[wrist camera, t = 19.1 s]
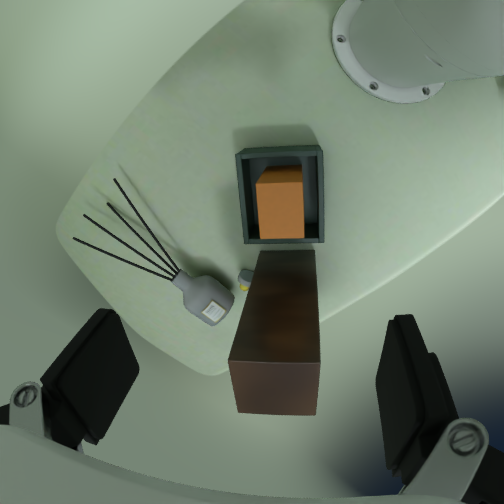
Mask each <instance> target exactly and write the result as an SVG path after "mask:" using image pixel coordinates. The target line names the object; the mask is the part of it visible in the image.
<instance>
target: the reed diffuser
mask: <svg viewBox="0 0 504 504" xmlns="http://www.w3.org/2000/svg"><path fill="white" fill-rule="evenodd" d="M113 180H114V182H115V183H116V185H117V186H118V188H119V189H120V191H121V192H122V194H123V195H124V197H125V198H126V199H127V201H128V202H129V204H130V205H131V207H132V208H133V210H134V211H135V213H136V214H137V216H138V217H139V218H140V220H141V221H142V223H143V224H144V226H145V227H146V228H147V230H148V231H149V233H150V234H151V235H152V237H153V238H154V240H155V241H156V242H157V244H158V245H159V247H160V248H161V249H162V251H163V252H164V253H165V255H166V256H167V257H168V259H169V260H170V262H171V263H172V264H173V266H174V267H175V268H176V270H177V271H178V272H177V271H175V270H174V269H173V268H172V267H171V266H170V265H169V264H168V263H167V262H166V261H165V260H164V259H163V258H162V257H161V256H160V255H159V254H158V253H157V252H156V251H155V250H154V249H153V248H152V247H151V246H150V245H149V244H148V243H147V242H146V241H145V240H144V239H143V238H142V237H141V236H140V235H139V234H138V233H137V232H136V231H135V230H134V229H133V228H132V227H131V226H130V225H129V224H128V223H127V222H126V221H125V220H124V219H123V218H122V217H121V216H120V215H119V214H118V213H117V211H116V210H115V209H114V208H113V207H112V206H111V205H110V204H109V203H107V205H108V206H109V207H110V208H111V209H112V210H113V211H114V213H115V214H116V215H117V216H118V217H119V218H120V219H121V220H122V221H123V222H124V223H125V224H126V225H127V226H128V227H129V228H130V229H131V230H132V231H133V232H134V233H135V234H136V235H137V236H138V237H139V238H140V239H141V240H142V241H143V242H144V243H145V244H146V245H147V246H148V247H149V248H150V249H151V250H152V251H153V252H154V253H155V254H156V255H157V256H158V257H159V258H160V259H161V260H162V261H163V262H164V263H165V264H166V265H167V266H168V267H169V268H170V269H171V270H172V271H173V272H174V273H175V275H173V274H172V273H170V272H169V271H167V270H166V269H164V268H162V267H161V266H159V265H158V264H156V263H155V262H153V261H152V260H150V259H149V258H147V257H146V256H144V255H143V254H141V253H140V252H138V251H137V250H135V249H134V248H132V247H131V246H129V245H128V244H127V243H125V242H124V241H122V240H121V239H119V238H118V237H116V236H115V235H113V234H112V233H111V232H109V231H108V230H106V229H105V228H103V227H102V226H101V225H99V224H98V223H96V222H95V221H94V220H92V219H91V218H89V217H88V216H87V215H85V214H84V215H83V216H84V217H85V218H87V219H88V220H90V221H91V222H92V223H94V224H95V225H97V226H98V227H99V228H101V229H102V230H104V231H105V232H106V233H108V234H109V235H111V236H112V237H114V238H115V239H116V240H118V241H119V242H121V243H122V244H124V245H125V246H127V247H128V248H130V249H131V250H133V251H134V252H136V253H137V254H139V255H140V256H142V257H143V258H144V259H146V260H148V261H149V262H151V263H152V264H154V265H155V266H157V267H158V268H160V269H161V270H163V271H164V272H166V273H167V274H169V275H170V276H172V277H173V278H172V279H171V278H169V277H166V276H164V275H161V274H159V273H156V272H154V271H151V270H149V269H147V268H144V267H142V266H139V265H137V264H135V263H132V262H130V261H127V260H125V259H123V258H120V257H118V256H116V255H113V254H111V253H109V252H106V251H104V250H102V249H99V248H97V247H95V246H93V245H90V244H88V243H86V242H84V241H81V240H79V239H77V238H75V237H73V239H74V240H76V241H78V242H80V243H82V244H85V245H87V246H89V247H91V248H94V249H96V250H98V251H100V252H103V253H105V254H107V255H110V256H112V257H114V258H117V259H119V260H121V261H124V262H126V263H128V264H131V265H133V266H136V267H138V268H140V269H143V270H145V271H148V272H150V273H153V274H155V275H157V276H160V277H162V278H165V279H167V280H170V281H171V282H172V283H173V284H174V285H175V286H177V287H178V288H179V289H181V290H182V291H183V301H184V306H185V308H186V309H187V310H188V311H189V312H190V313H192V314H193V315H195V316H196V317H198V318H199V319H201V320H202V321H204V322H205V323H207V324H209V325H210V326H215V325H217V324H218V323H219V322H220V321H222V320H223V319H224V317H225V316H226V315H227V314H228V312H229V311H230V309H231V307H232V305H233V303H234V299H235V297H234V295H233V294H232V293H231V292H230V291H229V290H228V289H226V288H225V287H224V286H223V285H222V284H220V283H219V282H218V281H217V280H215V279H214V278H212V277H211V276H208V275H204V276H199V277H195V278H193V277H191V276H190V275H188V274H187V273H186V272H184V271H183V270H182V269H179V268H178V267H177V266H176V264H175V263H174V262H173V260H172V259H171V258H170V256H169V255H168V253H167V252H166V251H165V249H164V248H163V247H162V245H161V244H160V242H159V241H158V240H157V238H156V237H155V235H154V234H153V233H152V231H151V230H150V228H149V227H148V226H147V224H146V223H145V221H144V220H143V218H142V217H141V216H140V214H139V213H138V211H137V210H136V208H135V207H134V205H133V204H132V203H131V201H130V200H129V198H128V197H127V195H126V194H125V192H124V191H123V189H122V188H121V186H120V185H119V183H118V182H117V180H116V179H115V178H114V179H113ZM253 274H254V272H252V271H249V270H242V271H241V272H240V273H239V276H238V281H239V283H240V289H241V290H243V291H247V290H248V289H249V287H250V284H251V281H252V277H253Z"/></svg>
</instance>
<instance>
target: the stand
mask: <svg viewBox="0 0 504 504" xmlns="http://www.w3.org/2000/svg"><path fill="white" fill-rule="evenodd" d="M319 331H320V330H319V309H318V291H317V275H316V261H315V250H292V251H260V253H259V257H258V260H257V264H256V267H255V270H254V274H253V277H252V281H251V284H250V287H249V291H248V294H247V297H246V301H245V304H244V308H243V311H242V314H241V318H240V321H239V324H238V328H237V331H236V335H235V338H234V341H233V345H232V348H231V351H230V355H229V358H228V364H229V370H230V375H231V380H232V385H233V390H234V395H235V400H236V405H237V410H238V412H239V413H252V414H269V415H270V414H271V415H316V407H317V398H318V387H319V376H320V364H321V360H320V332H319Z"/></svg>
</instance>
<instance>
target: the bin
mask: <svg viewBox="0 0 504 504" xmlns="http://www.w3.org/2000/svg"><path fill="white" fill-rule="evenodd" d="M235 157H236V167H237V177H238V187H239V197H240V207H241V217H242V227H243V237H244V244H277V243H324V171H323V150H322V149H321V147H320V146H319V145H305V146H278V147H259V148H244V149H243V150H241V151H240V152H238V153H237V154H235ZM280 165H302V174H303V198H304V238H286V239H260V231H259V218H258V206H257V194H256V183H257V181H258V179H259V178H260V176H261V175H262V173H263V171H264V170H265V168H266V166H280Z"/></svg>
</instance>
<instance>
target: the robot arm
mask: <svg viewBox="0 0 504 504" xmlns="http://www.w3.org/2000/svg"><path fill="white" fill-rule="evenodd" d="M331 33H332V45H333V48H334V52H335V55H336V57H337V59H338V61H339V64H340V65H341V67H342V68H343V70H344V71H345V73H346V74H347V75H348V76H349V77H350V79H351V80H352V81H353V82H354V83H355V84H356V85H358V86H359V87H360V88H362V89H363V90H364V91H365V92H367V93H369V94H371V95H373V96H375V97H376V98H379V99H382V100H385V101H388V102H393V103H405V104H408V103H416V102H420V101H423V100H426V99H429V98H430V97H432V96H433V95H435V94H436V93H437V92H438V91H439V90H440V89H441V88H442V87H443V86H444V84H445V83H446V82H450V81H458V80H466V79H475V78H486V77H494V76H504V0H363V1H360V0H346V1H345V2H344V3H343V4H342V5H341V6H340V8H339V10H338V12H337V13H336V15H335V18H334V21H333V26H332V32H331ZM339 38H340V39H342V41H343V42H339V41H338V39H339ZM371 84H372V85H374V89H371V88H370V85H371ZM422 89H424V90H425V93H423V91H422ZM138 373H139V364H138V362H137V360H136V357H135V355H134V352H133V350H132V348H131V345H130V343H129V340H128V338H127V335H126V333H125V330H124V327H123V325H122V322H121V320H120V317H119V315H118V314H116V312H115V311H114V310H112V309H103V308H100V309H98V310H97V311H96V312H95V313H94V314H93V315H92V317H91V318H90V319H89V320H88V321H87V323H86V324H85V325H84V326H83V327H82V328H81V329H80V331H79V332H78V333H77V334H76V335H75V336H74V338H73V339H72V340H71V341H70V343H69V344H68V345H67V346H66V347H65V348H64V350H63V351H62V352H61V354H60V355H59V356H58V357H57V358H56V360H55V361H54V362H53V363H52V364H51V366H50V367H49V368H48V369H47V371H46V372H45V373H44V375H43V376H42V377H41V378H40V381H41V382H42V384H43V386H42V387H40V386H39V385H38V384H37V383H35V382H26V383H23V384H21V385H19V386H18V387H17V388H16V389H15V390H14V391H13V393H12V395H11V398H10V404H7V405H4V406H1V407H0V504H504V453H503V452H501V451H499V450H497V449H496V448H494V447H492V446H490V445H488V443H489V437H488V433H487V431H486V428H485V427H484V426H483V425H482V424H481V423H480V422H478V421H477V420H474V419H470V418H461V419H459V417H458V414H457V411H456V408H455V405H454V402H453V399H452V396H451V393H450V390H449V387H448V384H447V382H446V379H445V376H444V373H443V371H442V368H441V365H440V363H439V361H438V358H437V356H436V354H435V353H433V352H432V353H428V351H427V348H426V346H425V344H424V340H423V338H422V336H421V333H420V330H419V328H418V326H417V323H416V321H415V319H414V316H413V315H412V314H406V315H395V317H394V320H389V322H388V326H387V331H386V336H385V341H384V345H383V350H382V354H381V359H380V363H379V367H378V371H377V375H376V391H377V397H378V404H379V411H380V418H381V425H382V432H383V441H384V449H385V459H386V467H387V469H388V470H390V469H392V474H393V475H392V476H393V477H398V476H401V477H402V483H403V484H404V485H405V486H404V487H403V488H402V490H401V491H400V492H399V494H398V495H387V496H371V497H353V498H283V497H282V498H281V497H267V496H256V495H245V494H237V493H230V492H223V491H216V490H210V489H204V488H199V487H194V486H188V485H184V484H180V483H175V482H171V481H166V480H163V479H159V478H155V477H151V476H147V475H144V474H140V473H137V472H134V471H131V470H127V469H124V468H121V467H118V466H115V465H112V464H109V463H106V462H103V461H101V460H98V459H95V458H93V457H90V456H87V455H85V454H84V453H83V449H82V444H81V441H82V439H84V440H85V441H86V442H89V443H91V444H94V445H97V444H98V442H99V440H100V439H102V438H103V437H104V436H105V434H106V432H107V430H108V428H109V427H110V425H111V423H112V421H113V419H114V417H115V415H116V413H117V412H118V410H119V408H120V406H121V404H122V403H123V401H124V399H125V397H126V395H127V394H128V392H129V390H130V388H131V386H132V385H133V383H134V381H135V379H136V377H137V376H138Z"/></svg>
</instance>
